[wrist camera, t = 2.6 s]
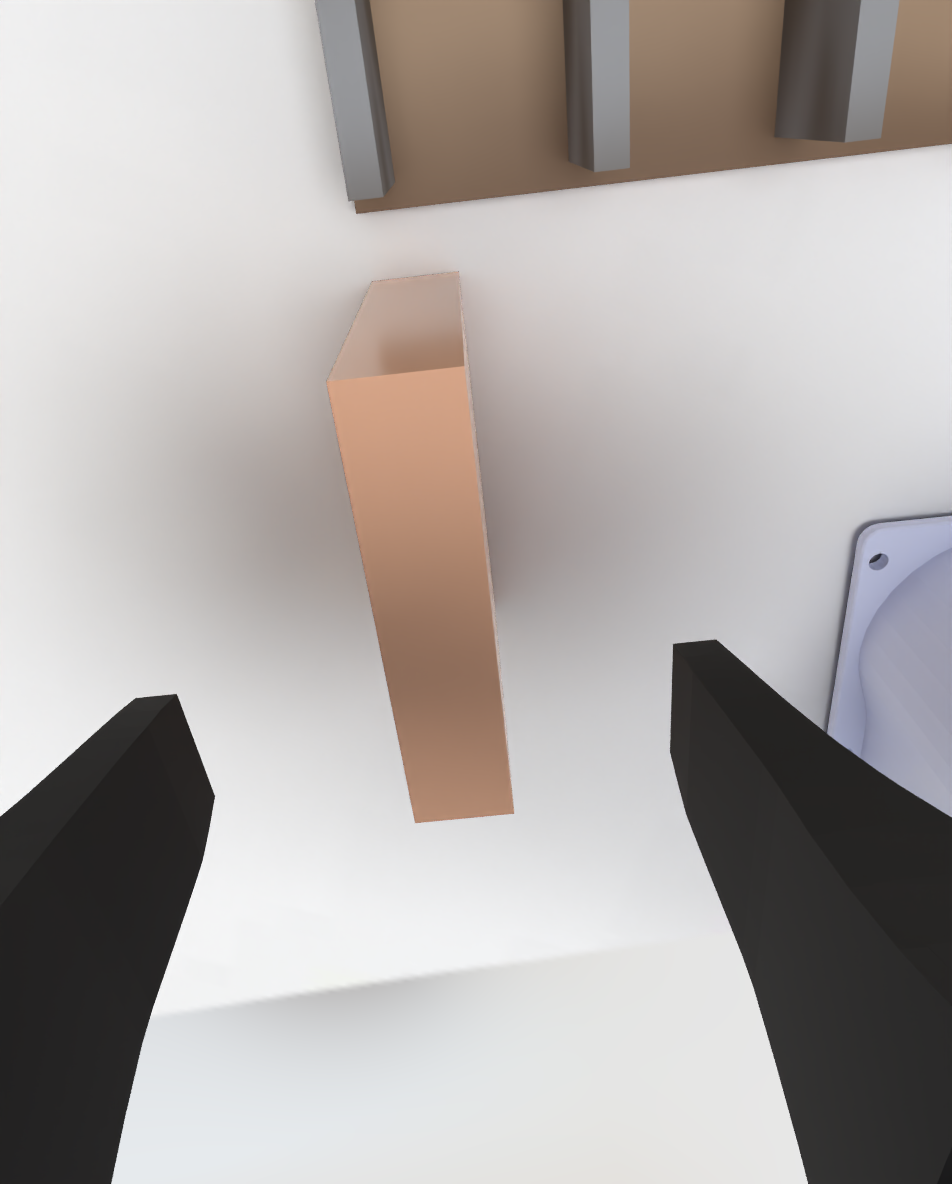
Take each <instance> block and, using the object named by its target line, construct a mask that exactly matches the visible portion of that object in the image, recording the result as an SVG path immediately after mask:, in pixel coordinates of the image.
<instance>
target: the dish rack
mask: <svg viewBox="0 0 952 1184" xmlns="http://www.w3.org/2000/svg"><path fill="white" fill-rule="evenodd" d="M315 4H316V10H317V16H318V22H319V28H320V34H321V40H322V46H323V51H324V57H325V63H326V69H327V75H328V81H329V87H330V93H331V99H332V105H333V111H334V117H335V123H336V129H337V135H338V141H339V147H340V153H341V159H342V165H343V171H344V177H345V183H346V189H347V195H348V201H354V203H355V209H356V214H358V213H367V212H375V211H384V210H392V209H401V208H409V207H418V206H426V205H435V204H443V203H452V202H460V201H469V200H477V199H486V198H494V197H503V196H511V195H520V194H528V193H537V192H545V191H554V190H562V189H571V188H579V187H588V186H596V185H605V184H613V183H622V182H630V181H638V180H647V179H655V178H664V177H672V176H681V175H689V174H698V173H706V172H715V171H723V170H732V169H740V168H749V167H757V166H766V165H774V164H783V163H791V162H800V161H808V160H817V159H825V158H834V157H842V156H851V155H859V154H868V153H876V152H885V151H893V150H901V149H910V148H918V147H927V146H935V145H944V144H952V0H315Z"/></svg>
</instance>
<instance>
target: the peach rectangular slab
mask: <svg viewBox="0 0 952 1184" xmlns="http://www.w3.org/2000/svg"><path fill="white" fill-rule="evenodd" d="M326 383H327V388H328V393H329V398H330V403H331V408H332V413H333V418H334V423H335V427H336V432H337V437H338V442H339V447H340V452H341V457H342V462H343V467H344V472H345V477H346V482H347V487H348V492H349V497H350V502H351V507H352V512H353V517H354V522H355V527H356V532H357V537H358V542H359V547H360V552H361V557H362V561H363V566H364V571H365V576H366V581H367V586H368V591H369V596H370V601H371V606H372V611H373V616H374V621H375V626H376V631H377V636H378V641H379V646H380V651H381V656H382V661H383V666H384V671H385V676H386V681H387V686H388V691H389V695H390V700H391V705H392V710H393V715H394V720H395V725H396V730H397V735H398V740H399V745H400V750H401V755H402V760H403V765H404V770H405V775H406V780H407V785H408V790H409V795H410V800H411V805H412V810H413V815H414V820H415V823H421V822H431V821H442V820H452V819H462V818H473V817H483V816H494V815H504V814H514V806H513V795H512V785H511V774H510V763H509V753H508V742H507V731H506V720H505V710H504V699H503V688H502V678H501V667H500V656H499V645H498V635H497V624H496V613H495V603H494V594H493V584H492V575H491V566H490V557H489V547H488V538H487V529H486V520H485V510H484V501H483V492H482V483H481V473H480V464H479V455H478V446H477V436H476V427H475V418H474V409H473V399H472V390H471V381H470V372H469V362H468V353H467V344H466V335H465V326H464V316H463V307H462V298H461V289H460V279H459V271H458V272H449V273H440V274H432V275H423V276H414V277H406V278H397V279H388V280H380V281H372V282H371V284H370V286H369V289H368V291H367V293H366V295H365V297H364V300H363V302H362V304H361V306H360V308H359V311H358V313H357V315H356V317H355V319H354V322H353V324H352V326H351V328H350V330H349V333H348V335H347V337H346V339H345V341H344V344H343V346H342V348H341V350H340V353H339V355H338V357H337V359H336V361H335V364H334V366H333V368H332V370H331V372H330V375H329V377H328V379H327V381H326Z"/></svg>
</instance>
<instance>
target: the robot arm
mask: <svg viewBox="0 0 952 1184" xmlns="http://www.w3.org/2000/svg"><path fill="white" fill-rule="evenodd" d="M880 553H882V555H881V557H880V559H879V560H877V561H876V562H874V563H869V562H870V559H871V558H872V557H873V556H874V555H876V554H880ZM670 753H671V757H672V761H673V765H674V769H675V773H676V777H677V781H678V785H679V789H680V793H681V796H682V800H683V804H684V808H685V811H686V815H687V817H688V820H689V823H690V825H691V828H692V830H693V833H694V836H695V838H696V841H697V843H698V846H699V848H700V851H701V853H702V856H703V858H704V861H705V863H706V866H707V868H708V871H709V873H710V876H711V878H712V881H713V883H714V886H715V888H716V891H717V893H718V896H719V898H720V901H721V903H722V906H723V908H724V911H725V913H726V916H727V918H728V921H729V923H730V926H731V928H732V931H733V933H734V936H735V938H736V941H737V943H738V946H739V948H740V951H741V953H742V956H743V959H744V962H745V964H746V967H747V970H748V973H749V976H750V979H751V981H752V984H753V987H754V990H755V994H756V997H757V1001H758V1004H759V1008H760V1011H761V1014H762V1018H763V1021H764V1025H765V1028H766V1031H767V1035H768V1038H769V1041H770V1045H771V1049H772V1052H773V1056H774V1059H775V1063H776V1066H777V1070H778V1073H779V1077H780V1080H781V1084H782V1088H783V1091H784V1095H785V1099H786V1102H787V1106H788V1110H789V1113H790V1117H791V1120H792V1124H793V1128H794V1131H795V1134H796V1139H797V1142H798V1146H799V1150H800V1154H801V1158H802V1161H803V1165H804V1169H805V1173H806V1177H807V1181H808V1184H952V516H944V517H934V518H924V519H915V520H905V521H896V522H886V523H878V524H874V525H871V526H869V527H868V528H866V529H865V530H864V531H863V532H862V533H861V534H860V536H859V538H858V541H857V546H856V553H855V559H854V565H853V572H852V578H851V584H850V591H849V597H848V603H847V610H846V616H845V622H844V629H843V635H842V641H841V648H840V654H839V660H838V667H837V673H836V679H835V686H834V692H833V698H832V705H831V711H830V717H829V724H828V730H827V733H826V732H824V731H823V730H822V729H821V728H819V727H818V726H817V725H816V724H814V723H813V722H812V721H811V720H809V719H808V718H807V717H806V716H804V715H803V714H802V713H801V712H799V711H798V710H797V709H796V708H795V707H793V706H792V705H791V704H790V703H789V702H787V701H786V700H785V699H784V698H783V697H781V696H780V695H779V694H778V693H777V692H776V691H774V690H773V689H772V688H771V687H770V686H769V685H768V684H766V683H765V682H764V681H763V680H762V679H761V678H759V677H758V676H757V675H756V674H755V673H754V672H753V671H752V670H750V669H749V668H748V667H747V666H746V665H745V664H744V663H743V662H741V661H740V660H739V659H738V658H737V657H736V656H735V655H733V654H732V653H731V652H730V651H729V650H728V649H727V648H725V647H724V646H723V645H722V644H721V643H720V642H718V641H717V640H707V641H697V642H687V643H677V644H673V668H672V704H671V740H670ZM214 799H215V795H214V793H213V790H212V787H211V785H210V782H209V779H208V777H207V774H206V771H205V768H204V766H203V763H202V760H201V758H200V755H199V752H198V750H197V747H196V744H195V742H194V739H193V736H192V734H191V731H190V728H189V726H188V723H187V720H186V718H185V715H184V712H183V710H182V707H181V704H180V701H179V699H178V696H177V694H172V695H162V696H153V697H143V698H135V699H134V700H133V701H132V702H130V703H129V704H128V705H127V706H125V707H124V708H123V709H122V710H120V711H119V712H118V713H117V714H116V715H115V716H114V717H112V718H111V719H110V720H109V721H108V722H107V723H106V724H104V725H103V726H102V727H101V728H100V729H99V730H98V731H97V732H96V733H94V734H93V735H92V736H91V737H90V738H89V739H88V740H87V741H86V742H84V743H83V744H82V745H81V746H80V747H79V748H78V749H77V750H76V751H75V752H74V753H72V754H71V755H70V756H69V757H68V758H67V759H66V760H65V761H64V762H62V763H61V764H60V765H59V766H58V767H57V768H56V769H55V770H53V771H52V772H51V773H50V774H49V775H48V776H47V777H46V778H45V779H43V780H42V781H41V782H40V783H39V784H38V785H37V786H36V787H34V788H33V789H32V790H31V791H30V792H29V793H28V794H27V795H25V796H24V797H23V798H22V799H21V800H20V801H18V802H17V803H16V804H15V805H14V806H12V807H11V808H10V809H9V810H8V811H6V812H5V813H4V814H3V815H2V816H0V1184H111V1182H112V1177H113V1172H114V1167H115V1163H116V1158H117V1153H118V1148H119V1143H120V1138H121V1133H122V1129H123V1124H124V1119H125V1115H126V1110H127V1106H128V1102H129V1098H130V1094H131V1089H132V1084H133V1081H134V1076H135V1072H136V1068H137V1064H138V1059H139V1055H140V1051H141V1047H142V1042H143V1039H144V1036H145V1032H146V1029H147V1026H148V1022H149V1019H150V1016H151V1012H152V1009H153V1006H154V1003H155V1000H156V997H157V994H158V991H159V988H160V985H161V983H162V980H163V977H164V974H165V971H166V968H167V965H168V962H169V959H170V956H171V953H172V950H173V948H174V945H175V942H176V939H177V936H178V933H179V930H180V927H181V924H182V921H183V918H184V916H185V913H186V910H187V907H188V904H189V901H190V898H191V895H192V892H193V889H194V886H195V883H196V880H197V877H198V873H199V870H200V867H201V864H202V861H203V856H204V852H205V847H206V842H207V837H208V833H209V827H210V821H211V816H212V810H213V804H214Z"/></svg>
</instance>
